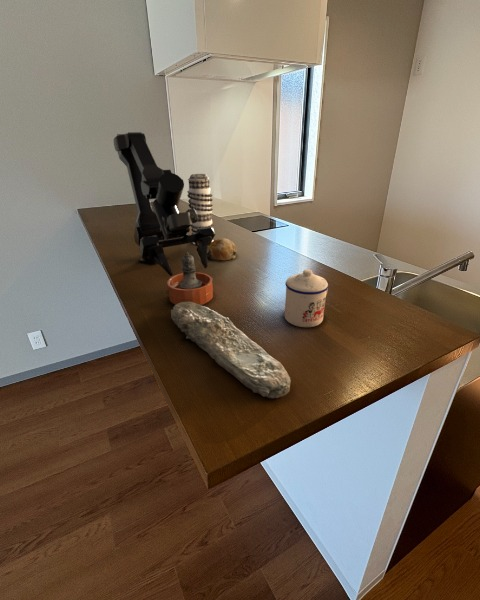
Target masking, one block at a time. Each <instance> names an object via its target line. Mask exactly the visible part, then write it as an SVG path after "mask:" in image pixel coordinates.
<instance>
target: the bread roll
mask: <svg viewBox="0 0 480 600" xmlns="http://www.w3.org/2000/svg"><path fill="white" fill-rule="evenodd" d="M213 240H214V239H213ZM236 255H237V247H236V244H235V243H234V242H233V241H232V240H229V239H228V238H220V237H219V238H217V239H215V240H214V241H213V242H211V244H210V245H209V246H208V247H207V258H209V259H211V260H213V261H217V262H218V261H229V260H233V259H235V258H236Z"/></svg>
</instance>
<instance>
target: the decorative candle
mask: <svg viewBox="0 0 480 600" xmlns="http://www.w3.org/2000/svg"><path fill="white" fill-rule="evenodd" d="M187 180H188V190H187V191H186V193H187V195H186V196H187V198H188V201H187V202H188V207H189V209H195V211H196V213H197V217H198V221H197V222H196V223H192V226H190V227H191V229H190V231H191V233H190V235H194V234H196V231H197V229H198V228H204V227H211V228H212V229H213V230H214V227H213V226H214V224H213V219H212V213H213V210H214V209H213V208H212V207H213V206H214V205H213V204H212V203H211V202H213V200H214V199H213V198H212V197H213V194H212V193H211V186H210V185H211V184H210V180H211V178H210V177H209V176H208V174H206V173H192V174H190V176H189V178H188V179H187ZM214 239H215V237H214V238H213V240H212V242H213V241H214ZM192 244H193V245H195V243H194V242H193V243H192Z"/></svg>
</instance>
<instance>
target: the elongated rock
mask: <svg viewBox="0 0 480 600" xmlns="http://www.w3.org/2000/svg"><path fill="white" fill-rule="evenodd" d="M170 316H171V317H170V319H171V320H172V321H173V323H174V324H175V325H176V326H177V328H178V329H180V331H181V333H184V334H185V336H186V337H185V339H186V340H191V342H193V343H195V344H196V345H197V346H198V347H199V348H200V349H201V350H203V351H204V352H206V353H207V354H208V355H209V356H210V357H211V359H213V360H214V361H215V363H217V364H218V366H220V368H221V367H222V368H223V369H224V370H225V371H226V372H228V373H230V375H232V376H233V377H235V378H236V380H238V381H239V382H240V383H241V384H242V385H243V386H244V387H246V388H248V389H250V390H251V391H252V392H253V393H254V394H255V393H256V394H259V395H261V396H262V398H265V397H266V398H269V399H278V398H283V397H284V396H286V395H287V394H289V392H290V390H291V381H292V380H291V377H290V375H289V373H288V372H287V370H286V368H285V366H283V364H282V363H281V362H280V361H279V360H277V359H276V358H274V357H273V356H271V355H270V354H269V353H268V352H267V351H266V350H265V349H264V348H263V347H262V346H260V345H259V344H258V343H257V342H255V341H253V340H252V339H251V338H250V337H249V336H248V335H246V334H245V333H244V332H243V331H242V330H240V329H239V328H238V327H236V325H234V323H233V321H232V320H230V318H229V317H226V316H223V315H222V314H220V313H219V312H218V311H216V310H215V311H214V310H213V309H210V308H209V307H207V306H204V305H200V304H196V303H193V302H181V303H178V304H176V305H175V304H174V306H173V307H172V309H171V310H170Z"/></svg>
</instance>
